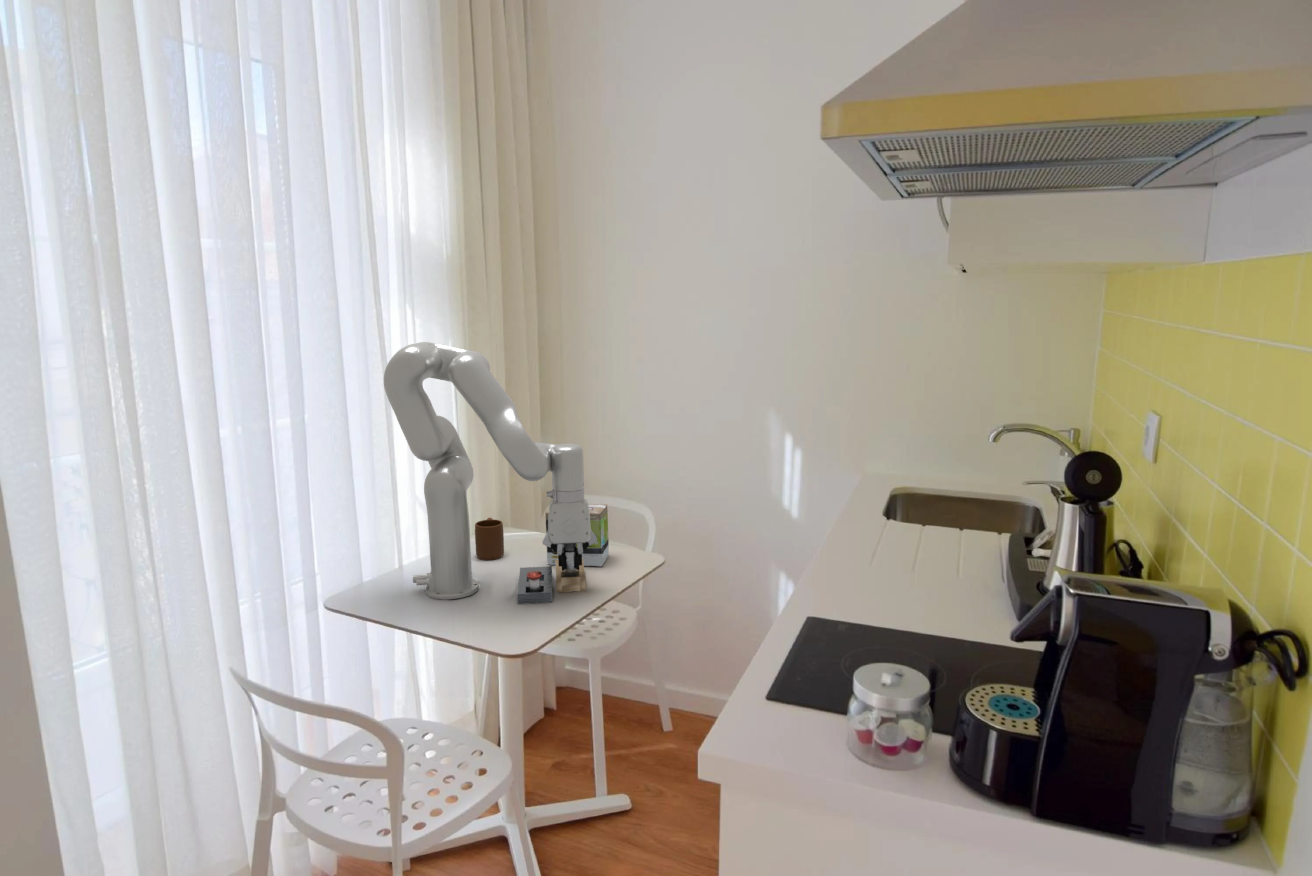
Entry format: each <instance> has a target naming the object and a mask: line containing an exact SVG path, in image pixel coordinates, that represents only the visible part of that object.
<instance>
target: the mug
mask: <svg viewBox="0 0 1312 876" xmlns="http://www.w3.org/2000/svg"><path fill="white" fill-rule="evenodd" d="M503 525H504V523H503V521H501V520H499V519H493V518H492V517H488V518H487V519H483V520H479V521H476V522H475V524H474V539H475V541H474V542H475V543H474V544H475V555H476V558H478V559H479V560H483V561H493V560H498V559H500V558H502V557H503V556H504V554H505V545H504V543H505V542H504V541H505V538H504V535H505V534H504V526H503Z"/></svg>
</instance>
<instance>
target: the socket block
mask: <svg viewBox="0 0 1312 876" xmlns="http://www.w3.org/2000/svg"><path fill="white" fill-rule="evenodd" d="M530 571H540V572H541V573H542V577H541V578H540V592H534V593H529V579H528V578H527V573H528V572H530ZM517 583H518V584H517V591H516V599H517V601H516V604H517V605H529V604H550V603H553V565H550V566H549V565H548V566H547V565H546V566H533V567H532V566H530V567H527V566H526V567H519V574H518V582H517Z"/></svg>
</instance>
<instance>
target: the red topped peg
mask: <svg viewBox="0 0 1312 876" xmlns="http://www.w3.org/2000/svg"><path fill="white" fill-rule="evenodd" d="M541 577H542V573H541V572H540V571H530V572H528V573H527V578H528V579H529V593H534V592H540V578H541Z"/></svg>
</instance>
